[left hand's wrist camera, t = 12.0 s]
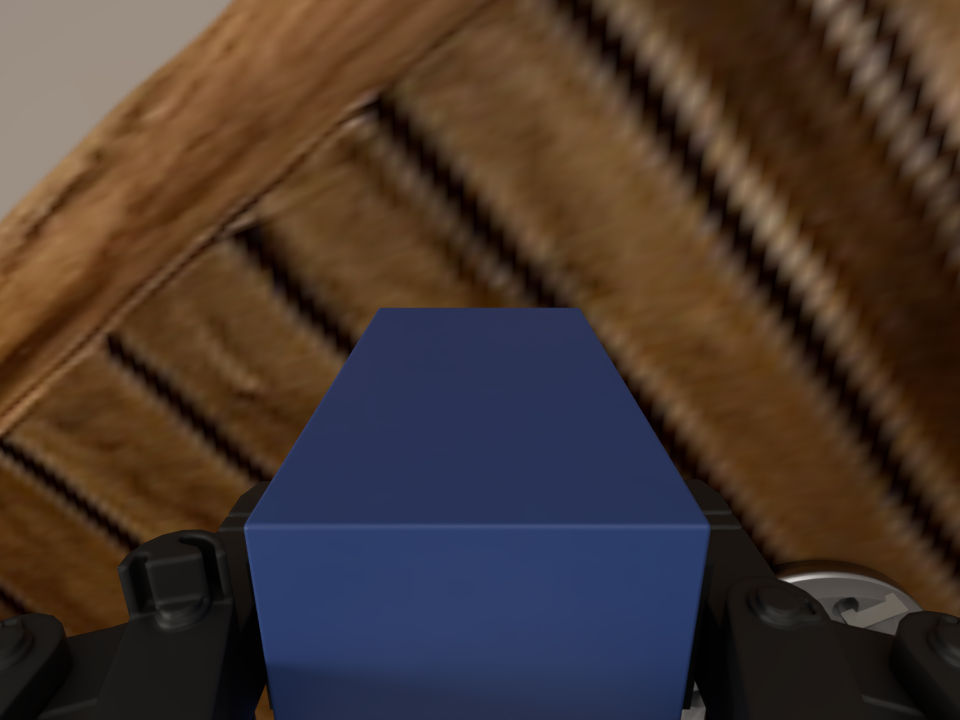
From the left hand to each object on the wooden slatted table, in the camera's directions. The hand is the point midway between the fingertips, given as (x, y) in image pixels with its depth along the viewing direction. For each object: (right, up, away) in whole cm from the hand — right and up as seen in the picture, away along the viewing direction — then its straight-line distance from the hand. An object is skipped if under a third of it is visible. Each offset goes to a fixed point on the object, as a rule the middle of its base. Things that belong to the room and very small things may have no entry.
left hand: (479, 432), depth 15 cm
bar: (0, -8, +4) cm, 8 cm away
